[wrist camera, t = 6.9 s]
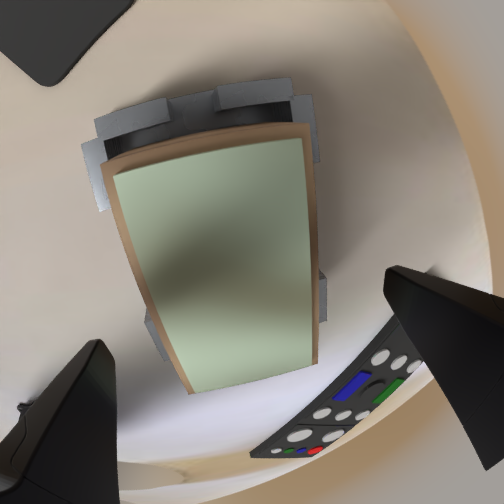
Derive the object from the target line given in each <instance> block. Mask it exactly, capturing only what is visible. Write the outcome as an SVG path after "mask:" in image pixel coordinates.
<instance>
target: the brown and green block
mask: <svg viewBox="0 0 504 504" xmlns="http://www.w3.org/2000/svg"><path fill="white" fill-rule="evenodd" d="M100 168H101V172H102V176H103V180H104V184H105V187H106V191H107V195H108V198H109V202H110V205H111V209H112V212H113V215H114V219H115V222H116V225H117V228H118V231H119V235H120V238H121V241H122V244H123V246H124V249H125V252H126V255H127V258H128V261H129V263H130V266H131V269H132V272H133V274H134V277H135V279H136V282H137V285H138V287H139V290H140V292H141V295H142V297H143V300H144V302H145V304H146V307H147V309H148V312H149V314H150V316H151V318H152V321H153V323H154V325H155V328H156V330H157V332H158V334H159V336H160V338H161V341H162V343H163V345H164V347H165V349H166V351H167V353H168V355H169V357H170V359H171V361H172V363H173V365H174V367H175V369H176V371H177V373H178V375H179V377H180V379H181V381H182V383H183V385H184V386H185V388H186V390H187V392H188V394H194V393H200V392H206V391H211V390H216V389H221V388H226V387H231V386H236V385H240V384H245V383H249V382H253V381H257V380H261V379H265V378H269V377H273V376H277V375H281V374H284V373H288V372H291V371H295V370H298V369H301V368H305V367H308V366H311V365H314V364H318V336H319V267H318V234H317V213H316V196H315V181H314V168H313V157H312V146H311V136H310V126H309V123H295V122H261V123H253V124H246V125H239V126H233V127H227V128H221V129H215V130H210V131H204V132H199V133H194V134H189V135H185V136H180V137H176V138H171V139H167V140H163V141H159V142H155V143H151V144H147V145H143V146H140V147H136V148H133V149H131V150H129V151H126V152H124V153H122V154H120V155H118V156H116V157H114V158H112V159H110V160H108V161H106V162H104V163H102V164H100Z"/></svg>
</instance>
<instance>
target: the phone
mask: <svg viewBox="0 0 504 504" xmlns="http://www.w3.org/2000/svg"><path fill="white" fill-rule="evenodd" d="M132 3H133V0H0V51H1V52H2V53H3V54H4V55H5V56H6V57H8V58H9V59H10V60H11V61H12V62H13V63H15V64H16V65H17V66H18V67H19V68H20V69H22V70H23V71H24V72H25V73H26V74H27V75H29V76H30V77H31V78H32V79H33V80H34V81H36V82H37V83H38V84H40V85H42V86H47V87H51V86H54V85H56V84H58V83H59V82H61V81H62V80H63V79H64V78H65V76H66V75H67V74H68V73H69V72H70V70H71V69H72V68H73V67H74V65H75V64H76V63H77V62H78V61H79V59H80V58H81V57H82V56H83V55H84V54H85V52H86V51H87V50H88V49H89V48H90V47H91V46H92V45H93V43H94V42H95V41H96V40H97V39H98V38H99V37H100V36H101V35H102V34H103V33H104V32H105V31H106V30H107V29H108V28H109V27H110V26H111V25H112V24H113V23H114V22H115V21H116V20H117V19H118V18H119V17H120V16H121V15H122V14H123V13H124V12H126V11H127V10H128V8H129V7H130V6H131V4H132Z"/></svg>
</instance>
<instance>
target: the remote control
mask: <svg viewBox="0 0 504 504" xmlns="http://www.w3.org/2000/svg"><path fill="white" fill-rule="evenodd" d="M425 273H426V272H425ZM426 274H427V273H426ZM423 361H424V360H423V359H422V357H421V356H420V354H419V353H418V351H417V350H416V348H415V347H414V345H413V344H412V342H411V341H410V339H409V338H408V336H407V335H406V333H405V332H404V330H403V328H402V326H401V325H400V323H399V321H398V319H397V317H396V316H395V314H394V315H393V316H392V317H391V319H390V320H389V321H388V322H387V323H386V325H385V326H384V327H383V328H382V329H381V331H380V332H379V333H378V334H377V335H376V336H375V338H374V339H373V340H372V341H371V342H370V343H369V344H368V346H367V347H366V348H365V349H364V350H363V351H362V352H361V353H360V354H359V355H358V356H357V358H356V359H355V360H354V361H353V362H352V363H351V364H350V365H349V366H348V367H347V368H346V369H345V370H344V371H343V372H342V373H341V374H340V375H339V376H338V377H337V378H336V379H335V380H334V381H333V382H332V383H331V384H330V385H329V386H328V387H327V388H326V389H325V390H324V391H323V392H322V393H321V394H320V395H318V396H317V397H316V398H315V399H314V400H313V401H312V402H311V403H310V404H309V405H308V406H306V407H305V408H304V409H303V410H302V411H301V412H300V413H298V414H297V415H296V416H295V417H294V418H293V419H291V420H290V421H289V422H288V423H287V424H285V425H284V426H283V427H282V428H281V429H279V430H278V431H277V432H276V433H274V434H273V435H272V436H270V437H269V438H268V439H267V440H265V441H264V442H263V443H261V444H260V445H259V446H257V447H256V448H255V449H253V450H252V451H251V452H250V456H251V458H305V457H313V456H314V455H316V454H317V453H319V452H320V451H322V450H323V449H325V448H326V447H328V446H329V445H330V444H332V443H333V442H335V441H336V440H337V439H339V438H340V437H341V436H343V435H344V434H345V433H347V432H348V431H349V430H350V429H352V428H353V427H354V426H355V425H356V424H358V423H359V422H360V421H361V420H363V419H364V418H365V417H366V416H368V415H369V414H370V413H371V412H372V411H373V410H374V409H375V408H377V407H378V406H379V405H380V404H381V403H382V402H383V401H384V400H385V399H387V398H388V397H389V396H390V395H391V394H392V393H393V392H394V391H395V390H396V389H397V388H398V387H399V386H400V385H401V384H402V383H403V382H404V381H405V380H406V379H407V378H408V377H409V376H410V375H411V374H412V373H413V372H414V371H415V370H416V369H417V368H418V367H419V366H420V365H421V364H422V362H423Z"/></svg>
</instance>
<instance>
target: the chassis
mask: <svg viewBox="0 0 504 504" xmlns="http://www.w3.org/2000/svg"><path fill="white" fill-rule="evenodd" d="M94 122H95V127H96V132H97V136H98V138H96V139H93V140H90V141H88V142H85V143H83V144H81V147H82V151H83V155H84V159H85V163H86V167H87V171H88V175H89V178H90V182H91V185H92V189H93V192H94V195H95V199H96V202H97V205H98V208H99V211H104V210H107V209H110V208H111V205H110V202H109V198H108V195H107V191H106V187H105V184H104V180H103V176H102V172H101V168H100V164H102V163H104V162H106V161H108V160H110V159H112V158H114V157H116V156H118V155H120V154H122V153H124V152H126V151H129V150H131V149H133V148H136V147H140V146H143V145H147V144H151V143H155V142H159V141H163V140H167V139H171V138H176V137H180V136H185V135H189V134H194V133H199V132H204V131H210V130H215V129H221V128H227V127H233V126H239V125H246V124H253V123H261V122H295V123H309V126H310V136H311V146H312V157H313V163H315V162H320V158H319V148H318V139H317V130H316V122H315V114H314V107H313V100H312V94H309V95H294V93H293V87H292V81H291V78H277V79H266V80H256V81H248V82H240V83H233V84H226V85H220V86H217V87H216V88H215V90H209V91H204V92H199V93H194V94H189V95H185V96H180V97H176V98H172V99H167V98H166V97H163V98H159V99H156V100H152V101H148V102H145V103H141V104H138V105H135V106H131V107H128V108H125V109H122V110H119V111H116V112H113V113H110V114H107V115H104V116H102V117H99V118H96V119H94ZM324 321H327V281H326V277H325V276H324V274H323V273H322V272H321V271H320V270H319V323H321V322H324ZM144 323H145V325H146V327H147V329H148V331H149V333H150V335H151V337H152V339H153V341H154V343H155V345H156V347H157V348H158V350H159V352H160V354H161V356H162V358H163V360H164V361H167V360H171V359H170V357H169V355H168V353H167V351H166V349H165V347H164V345H163V343H162V341H161V338H160V336H159V334H158V332H157V330H156V328H155V325H154V323H153V321H152V318H151V316H150V314H149V312H148V309H146V315H145V321H144Z"/></svg>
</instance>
